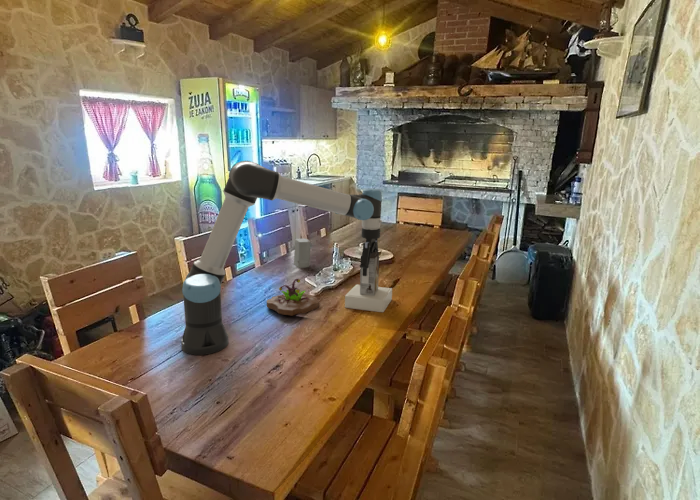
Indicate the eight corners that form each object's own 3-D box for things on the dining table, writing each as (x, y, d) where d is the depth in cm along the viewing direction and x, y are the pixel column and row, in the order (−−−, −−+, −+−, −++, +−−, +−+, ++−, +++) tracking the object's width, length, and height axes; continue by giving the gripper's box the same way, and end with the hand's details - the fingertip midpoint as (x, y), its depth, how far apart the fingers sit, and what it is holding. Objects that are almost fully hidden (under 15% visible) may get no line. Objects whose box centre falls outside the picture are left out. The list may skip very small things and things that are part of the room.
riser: (383, 312, 167) (383, 299, 165) (344, 307, 171) (345, 295, 170) (391, 299, 181) (392, 287, 180) (356, 295, 186) (356, 283, 185)
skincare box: (293, 267, 230) (293, 238, 226) (305, 265, 233) (305, 237, 229) (298, 271, 222) (298, 241, 219) (311, 269, 225) (311, 240, 222)
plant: (327, 307, 172) (327, 281, 169) (286, 318, 160) (286, 290, 157) (300, 294, 187) (300, 270, 184) (260, 304, 174) (260, 278, 172)
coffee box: (363, 287, 180) (364, 251, 176) (378, 288, 179) (379, 252, 175) (359, 294, 171) (360, 256, 168) (375, 295, 170) (376, 257, 166)
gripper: (372, 233, 156) (370, 288, 161) (387, 223, 180) (385, 271, 184) (353, 232, 159) (351, 286, 163) (370, 222, 182) (368, 270, 187)
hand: (369, 278), depth 174 cm, fingers open, 13 cm apart
